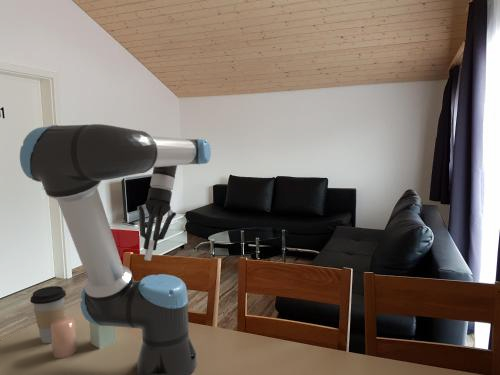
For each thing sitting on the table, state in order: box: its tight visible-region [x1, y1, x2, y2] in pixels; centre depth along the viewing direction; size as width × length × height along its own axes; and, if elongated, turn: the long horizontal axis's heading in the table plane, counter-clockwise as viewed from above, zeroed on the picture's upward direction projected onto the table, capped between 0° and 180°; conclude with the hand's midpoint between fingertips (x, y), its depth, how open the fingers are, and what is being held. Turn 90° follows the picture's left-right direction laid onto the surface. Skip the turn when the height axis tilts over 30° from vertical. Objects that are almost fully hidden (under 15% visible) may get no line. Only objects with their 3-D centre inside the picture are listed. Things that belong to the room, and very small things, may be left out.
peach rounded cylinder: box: [51, 316, 78, 359], centre depth 105 cm, size 6×6×9 cm
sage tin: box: [89, 322, 117, 350], centre depth 110 cm, size 5×5×8 cm
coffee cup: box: [29, 285, 67, 344], centre depth 112 cm, size 9×9×15 cm
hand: (147, 260), depth 121 cm, fingers closed
